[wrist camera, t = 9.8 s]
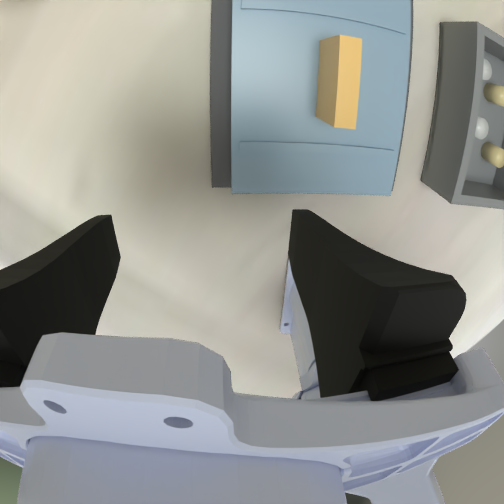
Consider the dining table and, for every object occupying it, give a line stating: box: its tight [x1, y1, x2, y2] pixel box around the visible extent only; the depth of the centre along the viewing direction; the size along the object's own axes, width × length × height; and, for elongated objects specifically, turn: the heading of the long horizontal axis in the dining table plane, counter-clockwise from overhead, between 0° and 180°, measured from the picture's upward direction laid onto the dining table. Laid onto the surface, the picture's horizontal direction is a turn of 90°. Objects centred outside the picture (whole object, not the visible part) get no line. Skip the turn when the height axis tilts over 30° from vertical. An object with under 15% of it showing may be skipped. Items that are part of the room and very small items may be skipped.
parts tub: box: [421, 22, 504, 209], centre depth 17 cm, size 14×10×4 cm
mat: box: [210, 0, 413, 191], centre depth 17 cm, size 16×14×1 cm
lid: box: [231, 0, 411, 196], centre depth 15 cm, size 15×11×5 cm
